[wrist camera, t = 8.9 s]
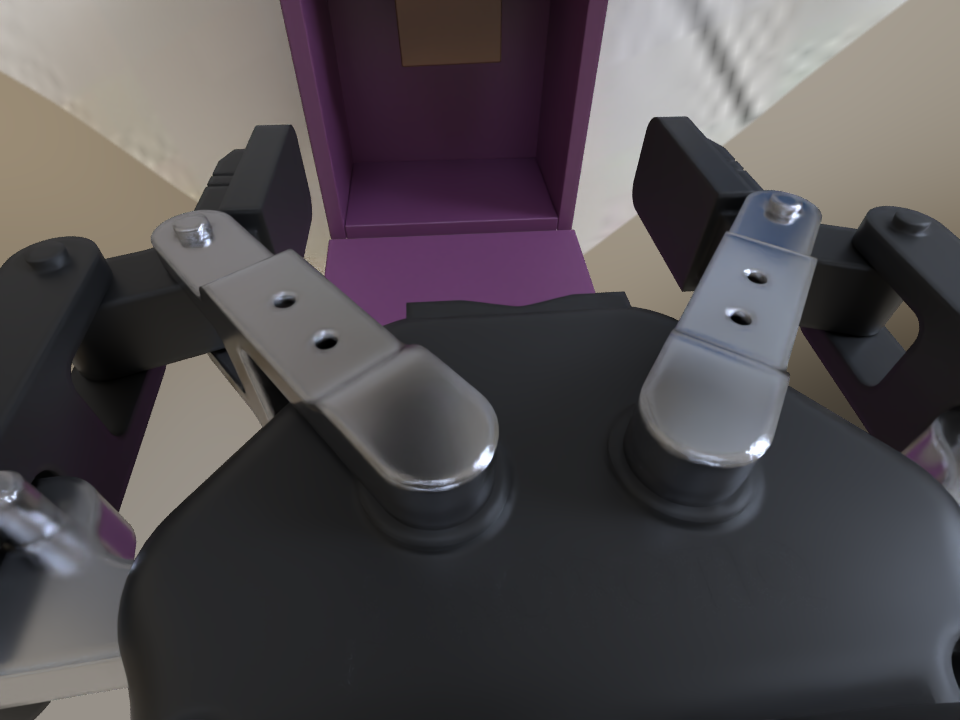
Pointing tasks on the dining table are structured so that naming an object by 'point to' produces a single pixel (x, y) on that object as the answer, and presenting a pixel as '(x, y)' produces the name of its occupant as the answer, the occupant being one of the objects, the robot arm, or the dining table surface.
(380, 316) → the lid
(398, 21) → the block
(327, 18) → the file box
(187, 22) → the dining table surface
